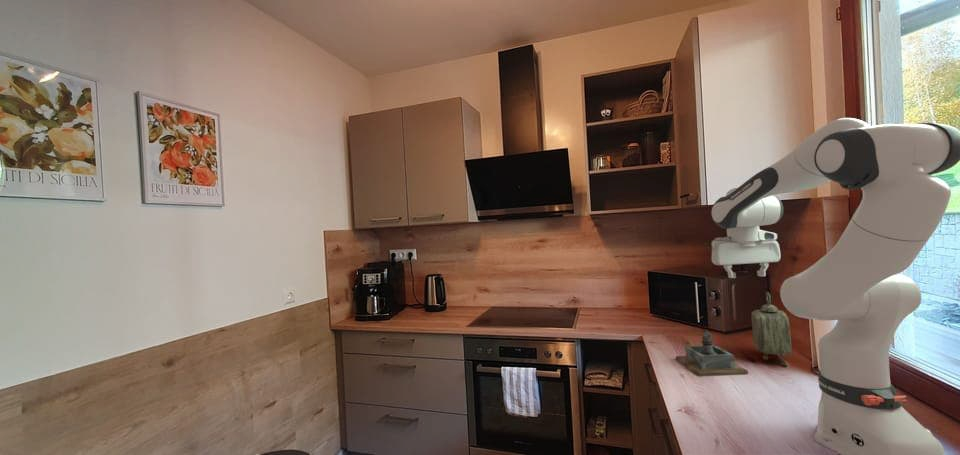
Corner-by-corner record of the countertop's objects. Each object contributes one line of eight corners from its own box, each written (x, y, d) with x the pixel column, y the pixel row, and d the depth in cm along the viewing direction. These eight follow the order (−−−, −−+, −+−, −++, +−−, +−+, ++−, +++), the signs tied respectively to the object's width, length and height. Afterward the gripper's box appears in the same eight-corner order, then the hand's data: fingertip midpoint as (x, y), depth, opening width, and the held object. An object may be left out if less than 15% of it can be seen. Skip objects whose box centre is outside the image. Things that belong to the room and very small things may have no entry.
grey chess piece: (713, 359, 129) (710, 327, 129) (722, 366, 123) (719, 331, 123) (696, 360, 130) (693, 327, 130) (704, 366, 124) (701, 332, 124)
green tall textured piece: (793, 369, 119) (787, 296, 120) (760, 365, 124) (754, 295, 125) (784, 355, 132) (778, 289, 132) (754, 352, 137) (748, 288, 137)
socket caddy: (748, 374, 118) (746, 357, 118) (699, 376, 119) (697, 359, 119) (718, 357, 134) (717, 342, 134) (676, 359, 135) (674, 344, 135)
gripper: (717, 238, 115) (720, 280, 114) (782, 233, 113) (786, 276, 113) (705, 237, 121) (709, 277, 121) (767, 233, 120) (771, 274, 119)
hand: (746, 277), depth 117 cm, fingers open, 8 cm apart
